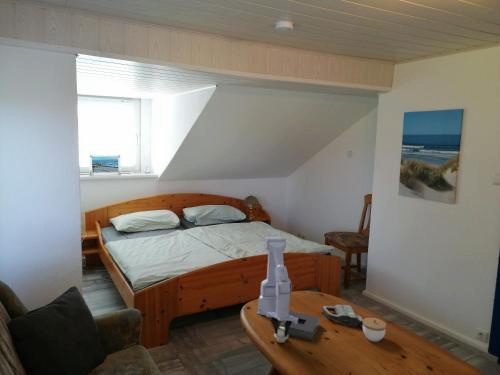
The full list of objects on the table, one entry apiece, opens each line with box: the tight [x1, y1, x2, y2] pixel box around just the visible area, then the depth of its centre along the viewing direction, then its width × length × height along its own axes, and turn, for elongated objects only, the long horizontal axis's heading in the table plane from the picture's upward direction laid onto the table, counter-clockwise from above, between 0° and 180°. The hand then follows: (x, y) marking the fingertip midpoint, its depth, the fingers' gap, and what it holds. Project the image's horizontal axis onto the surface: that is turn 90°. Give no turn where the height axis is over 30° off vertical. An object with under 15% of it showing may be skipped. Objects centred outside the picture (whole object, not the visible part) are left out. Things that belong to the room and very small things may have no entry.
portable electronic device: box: [321, 304, 364, 328], centre depth 196 cm, size 16×20×5 cm
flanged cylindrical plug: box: [273, 326, 290, 344], centre depth 174 cm, size 7×7×6 cm
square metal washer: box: [278, 310, 320, 341], centre depth 185 cm, size 16×16×4 cm
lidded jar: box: [362, 317, 387, 343], centre depth 179 cm, size 11×11×9 cm
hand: (281, 334), depth 174 cm, fingers closed on flanged cylindrical plug, 4 cm apart
